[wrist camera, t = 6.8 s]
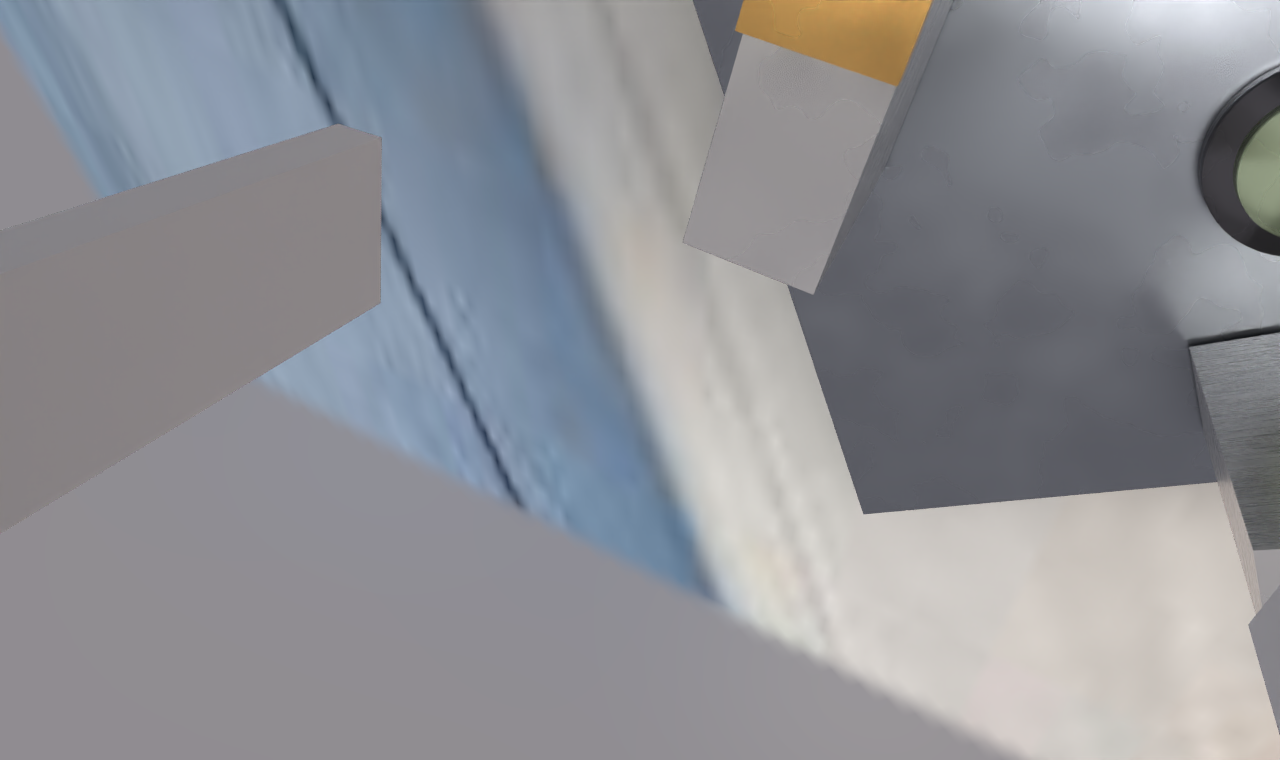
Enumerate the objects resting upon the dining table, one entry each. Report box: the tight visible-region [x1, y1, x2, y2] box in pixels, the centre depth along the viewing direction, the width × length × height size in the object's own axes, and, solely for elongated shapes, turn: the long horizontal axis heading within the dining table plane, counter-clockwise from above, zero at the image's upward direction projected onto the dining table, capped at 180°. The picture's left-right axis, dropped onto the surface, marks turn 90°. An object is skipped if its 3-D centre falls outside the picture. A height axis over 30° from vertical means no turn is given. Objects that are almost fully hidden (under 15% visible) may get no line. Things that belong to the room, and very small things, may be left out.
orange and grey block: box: [683, 0, 953, 295], centre depth 22 cm, size 3×7×10 cm, turn 164°
